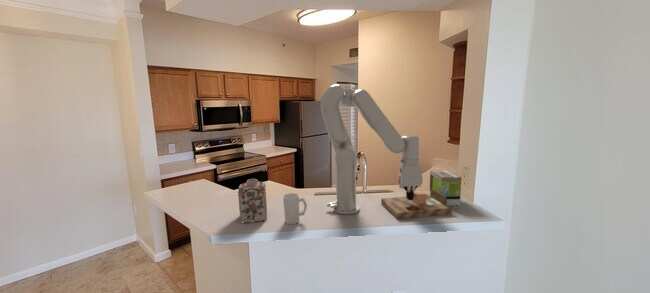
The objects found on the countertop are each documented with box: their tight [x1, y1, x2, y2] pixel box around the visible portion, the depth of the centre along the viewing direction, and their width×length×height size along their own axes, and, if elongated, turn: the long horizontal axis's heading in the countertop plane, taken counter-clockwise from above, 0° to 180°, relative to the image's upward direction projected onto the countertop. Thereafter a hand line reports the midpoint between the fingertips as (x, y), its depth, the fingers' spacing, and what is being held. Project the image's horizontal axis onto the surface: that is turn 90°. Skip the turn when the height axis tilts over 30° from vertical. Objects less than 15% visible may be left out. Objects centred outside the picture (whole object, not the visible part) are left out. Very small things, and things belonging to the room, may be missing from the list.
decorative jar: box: [237, 178, 268, 224], centre depth 120 cm, size 12×12×18 cm
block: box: [411, 190, 428, 205], centre depth 125 cm, size 5×5×5 cm
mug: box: [282, 192, 308, 225], centre depth 115 cm, size 10×7×12 cm, turn 90°
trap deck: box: [380, 189, 452, 220], centre depth 125 cm, size 26×19×7 cm
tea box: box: [429, 170, 462, 207], centre depth 134 cm, size 15×10×15 cm, turn 179°
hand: (409, 199), depth 124 cm, fingers closed
